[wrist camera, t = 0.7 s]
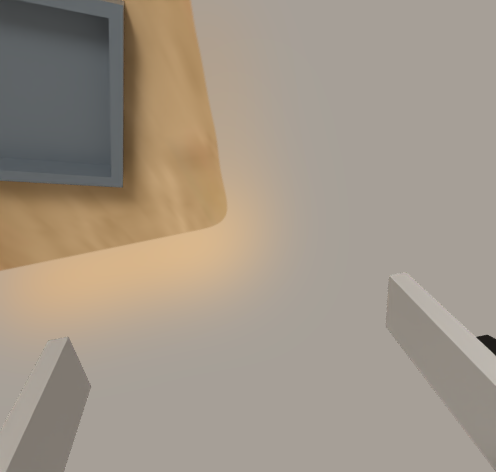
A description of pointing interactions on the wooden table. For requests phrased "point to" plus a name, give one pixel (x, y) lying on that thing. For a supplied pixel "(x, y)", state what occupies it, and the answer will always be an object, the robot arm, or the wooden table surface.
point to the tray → (62, 91)
